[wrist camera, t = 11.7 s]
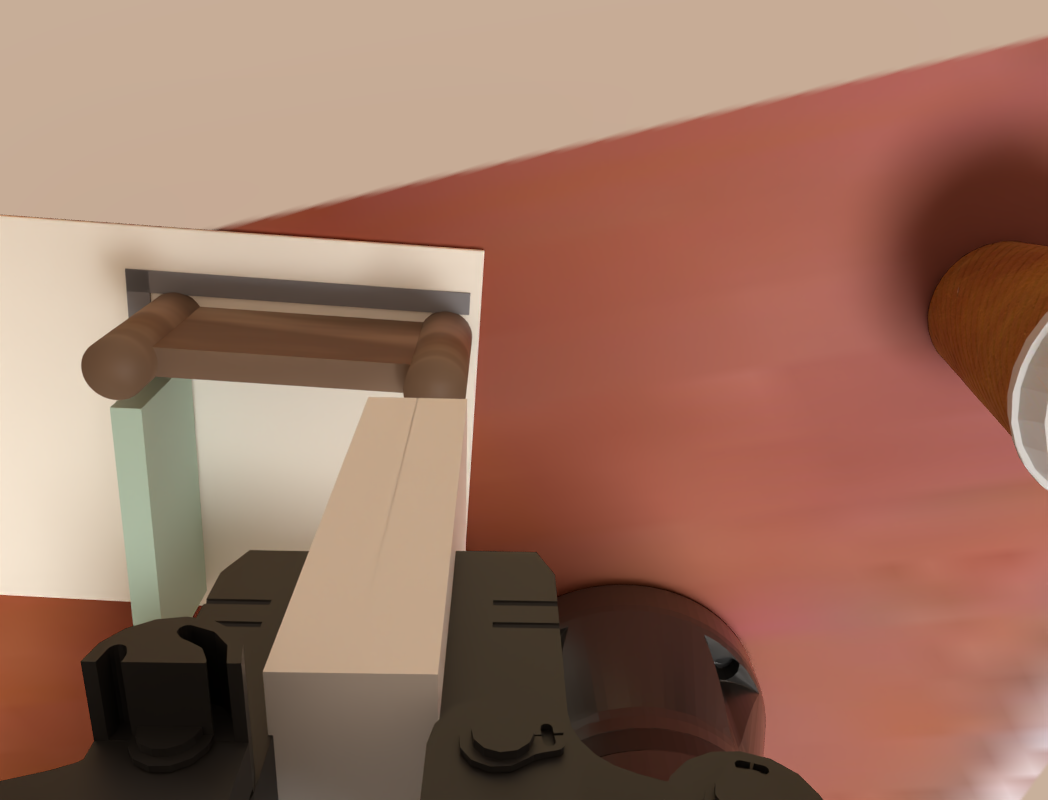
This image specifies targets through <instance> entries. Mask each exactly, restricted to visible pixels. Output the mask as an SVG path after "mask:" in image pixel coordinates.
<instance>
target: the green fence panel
mask: <svg viewBox="0 0 1048 800" xmlns="http://www.w3.org/2000/svg"><path fill="white" fill-rule="evenodd" d="M110 414H111V423H112V433H113V442H114V451H115V461H116V470H117V479H118V488H119V498H120V507H121V516H122V525H123V535H124V544H125V553H126V562H127V572H128V581H129V590H130V599H131V609H132V618H133V626H136V625H139V624H142V623H146V622H149V621H152V620H155V619H165V618H176V617H193V615H194V613H195V612H196V610H197V608H198V606H199V604H200V602H201V601H202V599H203V597H204V595H205V593H206V592H207V585H206V572H205V558H204V545H203V531H202V518H201V504H200V491H199V477H198V464H197V450H196V437H195V423H194V409H193V396H192V382H191V379H183V378H168V377H155V378H154V379H153V380H152V381H150V382H149V383H148V384H147V385H146V386H145V387H144V388H143V389H142V390H141V391H140V392H139V393H138V394H136V395H135V396H133V397H131V398H129V399H125V400H117V401H116V402H115V403H114V404H113V405H112V406H111V407H110Z"/></svg>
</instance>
